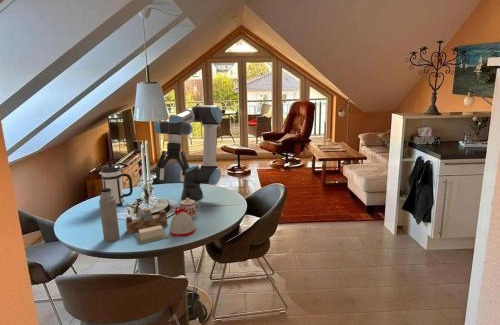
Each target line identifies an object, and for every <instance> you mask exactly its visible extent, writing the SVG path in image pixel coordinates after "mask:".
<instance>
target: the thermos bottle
mask: <svg viewBox="0 0 500 325" xmlns="http://www.w3.org/2000/svg"><path fill="white" fill-rule="evenodd" d="M100 192H101V194H100V195H99V200H98V203H99V210H100V219H101V226H102V234H103V235H102V236H103V241H104V242H106V243H112V242H116V241H119V239H120V238H121V236H120V228H119V219H118V211H117V204H116V201H115V198H114V195H113V194H112V193H111V189H110V188H105V189H103V188H102V189H100Z"/></svg>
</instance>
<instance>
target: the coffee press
mask: <svg viewBox="0 0 500 325" xmlns="http://www.w3.org/2000/svg"><path fill="white" fill-rule="evenodd" d="M121 171H122V167H121V166H120V165H118V164H116V163H115V164H113V162H112V161H108V164H105V165H103V166H102V167H101V169H100V171H99V173H98V175H101V182H102V187H103V188H102V189H105V188H110V189H111V193H112V194H113V195H114V198H115V201H116V205H119V206H120V207H123V206H124V205H123V202H125V198H127V197H130V196H131V195H132V194H133V190H134V189H133V180H132V176H131V175H130V174H128V173H122V172H121ZM122 177H126V178H127V179H128V184H129V193H124V190H123V180H122ZM124 197H125V198H124Z"/></svg>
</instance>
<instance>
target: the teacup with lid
mask: <svg viewBox="0 0 500 325" xmlns="http://www.w3.org/2000/svg"><path fill="white" fill-rule="evenodd" d="M196 205H197V206H198V207H197V209H196ZM181 206H183V208H184V207H185V211H186V209H188V210H187V214H189V216H190V217H191V218H192V219H193V218H196V214H197V213H196V212H197V211H199V210H200V207H201V205H200V203H198V202H196V200H191V199H189V198H186V200H181V201H180V207H181Z"/></svg>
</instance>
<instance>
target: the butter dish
mask: <svg viewBox="0 0 500 325" xmlns="http://www.w3.org/2000/svg"><path fill="white" fill-rule="evenodd" d="M134 237H135V238H136V240H137V242H138V243H139V245H143V244H147V243H152V242H156V241H161V240H164V239H168V238H169V236H168V235H167V233H166V232H165V231H164V226H163V227H162V226H161V225H159V226H155V227H150V228H145V229H141V230H139V232H138V234H135V235H134Z"/></svg>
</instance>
